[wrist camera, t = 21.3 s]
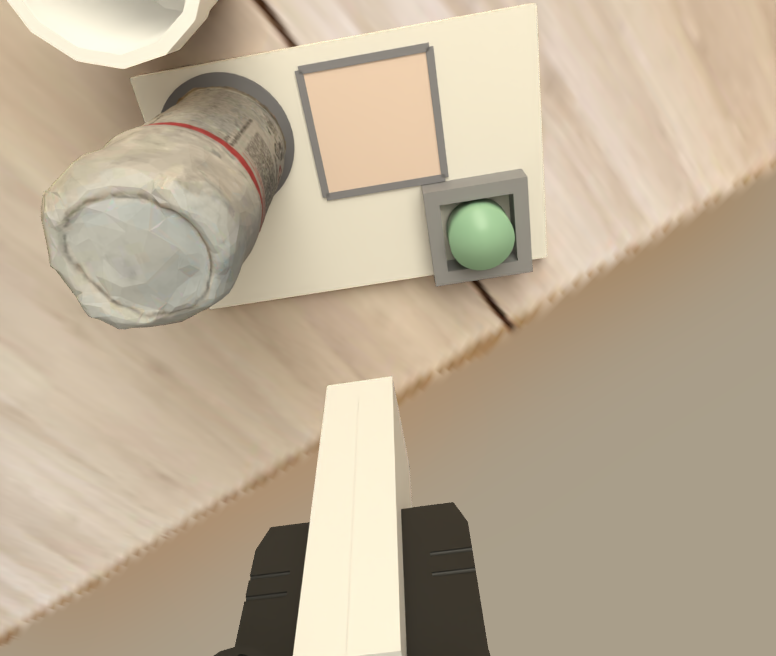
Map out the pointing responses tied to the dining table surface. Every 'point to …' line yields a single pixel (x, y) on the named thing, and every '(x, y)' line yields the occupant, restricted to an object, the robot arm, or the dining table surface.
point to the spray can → (166, 209)
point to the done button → (480, 234)
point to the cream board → (392, 151)
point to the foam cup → (114, 27)
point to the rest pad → (251, 89)
